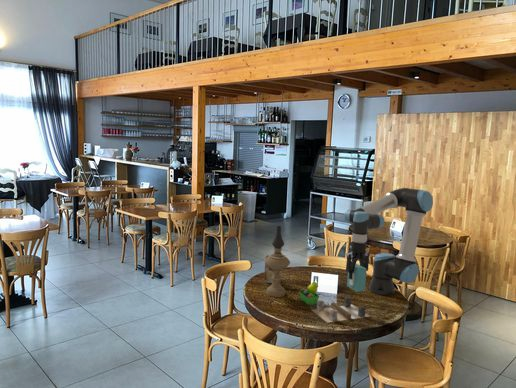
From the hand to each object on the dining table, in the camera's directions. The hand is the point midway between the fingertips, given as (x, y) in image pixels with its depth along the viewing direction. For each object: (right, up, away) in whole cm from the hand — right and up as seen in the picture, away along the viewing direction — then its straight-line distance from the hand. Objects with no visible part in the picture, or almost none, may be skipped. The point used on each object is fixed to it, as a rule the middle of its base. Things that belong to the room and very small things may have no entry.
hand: (356, 284), depth 215 cm
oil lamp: (-41, -11, +24) cm, 49 cm away
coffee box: (-43, -8, +44) cm, 62 cm away
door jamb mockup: (-8, -15, -1) cm, 18 cm away
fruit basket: (-23, -13, +13) cm, 30 cm away
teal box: (0, -2, 0) cm, 2 cm away
